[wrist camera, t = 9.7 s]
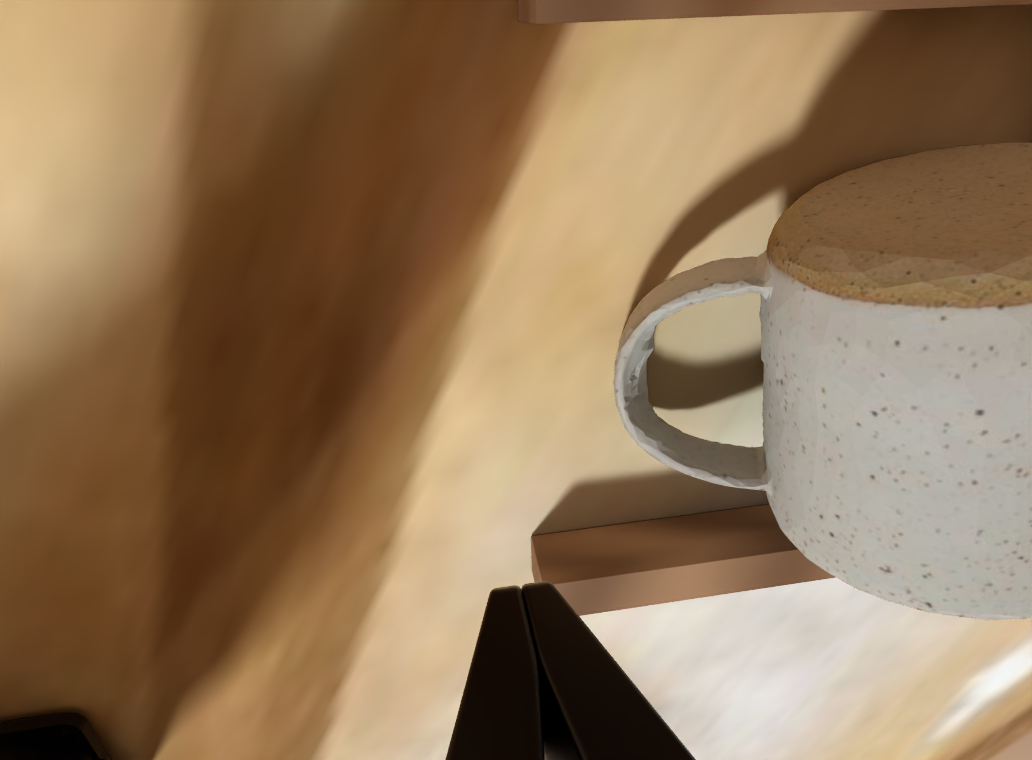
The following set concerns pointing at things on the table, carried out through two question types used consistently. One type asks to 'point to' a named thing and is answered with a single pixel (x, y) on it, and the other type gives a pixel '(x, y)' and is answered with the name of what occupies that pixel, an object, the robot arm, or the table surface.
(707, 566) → the walnut corral
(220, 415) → the table surface
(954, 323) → the ceramic mug
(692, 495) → the table surface
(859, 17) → the table surface
